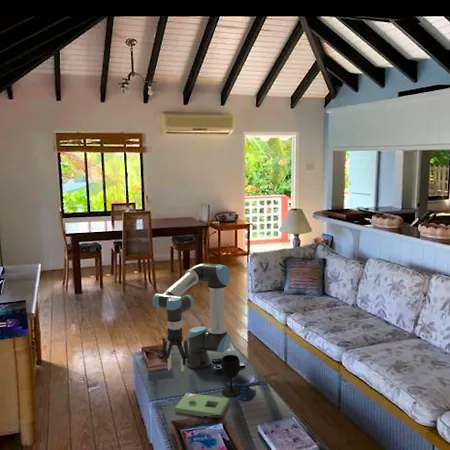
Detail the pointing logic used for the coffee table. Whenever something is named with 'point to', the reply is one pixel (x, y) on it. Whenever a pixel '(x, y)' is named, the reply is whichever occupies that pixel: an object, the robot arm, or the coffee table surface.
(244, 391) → the coffee table surface
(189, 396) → the ball
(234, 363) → the wine glass
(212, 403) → the putting mat
